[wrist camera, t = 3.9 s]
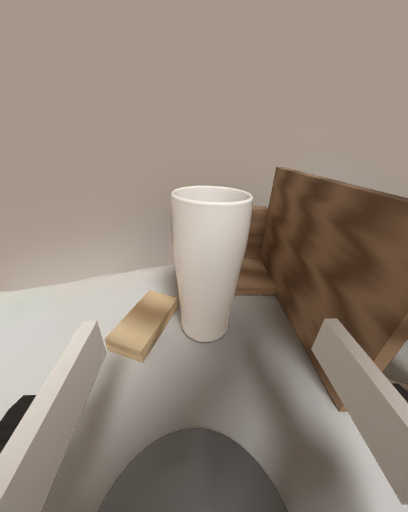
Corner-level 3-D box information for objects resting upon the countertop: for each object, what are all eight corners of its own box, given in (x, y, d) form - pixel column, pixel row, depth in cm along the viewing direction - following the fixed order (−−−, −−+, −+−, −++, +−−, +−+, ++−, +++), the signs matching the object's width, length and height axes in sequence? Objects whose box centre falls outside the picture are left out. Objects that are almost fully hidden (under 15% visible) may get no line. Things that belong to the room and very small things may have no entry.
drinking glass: (246, 329, 23) (272, 196, 16) (199, 364, 19) (207, 208, 12) (207, 298, 28) (214, 183, 21) (163, 321, 24) (154, 189, 17)
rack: (353, 410, 16) (497, 220, 9) (170, 417, 16) (156, 211, 8) (262, 260, 38) (281, 166, 30) (183, 259, 37) (183, 162, 29)
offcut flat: (143, 365, 20) (140, 351, 19) (108, 352, 21) (104, 339, 20) (177, 309, 26) (177, 297, 25) (150, 302, 27) (149, 290, 26)
